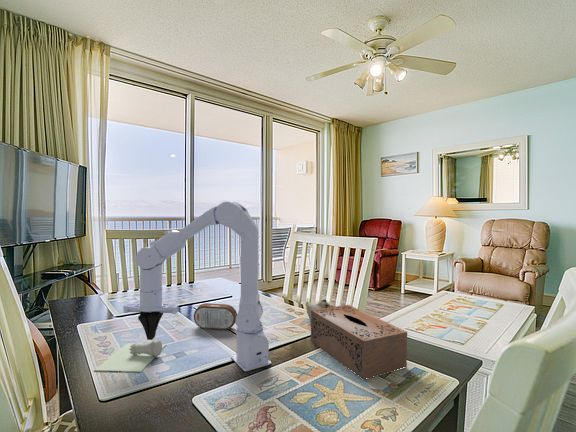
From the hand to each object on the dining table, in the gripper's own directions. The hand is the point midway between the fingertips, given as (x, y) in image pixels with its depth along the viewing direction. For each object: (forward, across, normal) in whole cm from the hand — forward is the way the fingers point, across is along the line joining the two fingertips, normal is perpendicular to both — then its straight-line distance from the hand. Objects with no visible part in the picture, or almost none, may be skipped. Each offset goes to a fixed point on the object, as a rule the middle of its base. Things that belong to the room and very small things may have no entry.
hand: (151, 338), depth 89 cm
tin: (+6, -12, -22) cm, 26 cm away
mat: (+5, +5, 0) cm, 7 cm away
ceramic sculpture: (+6, -51, -31) cm, 60 cm away
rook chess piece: (+3, -2, 0) cm, 4 cm away
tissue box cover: (+6, -57, -6) cm, 58 cm away
